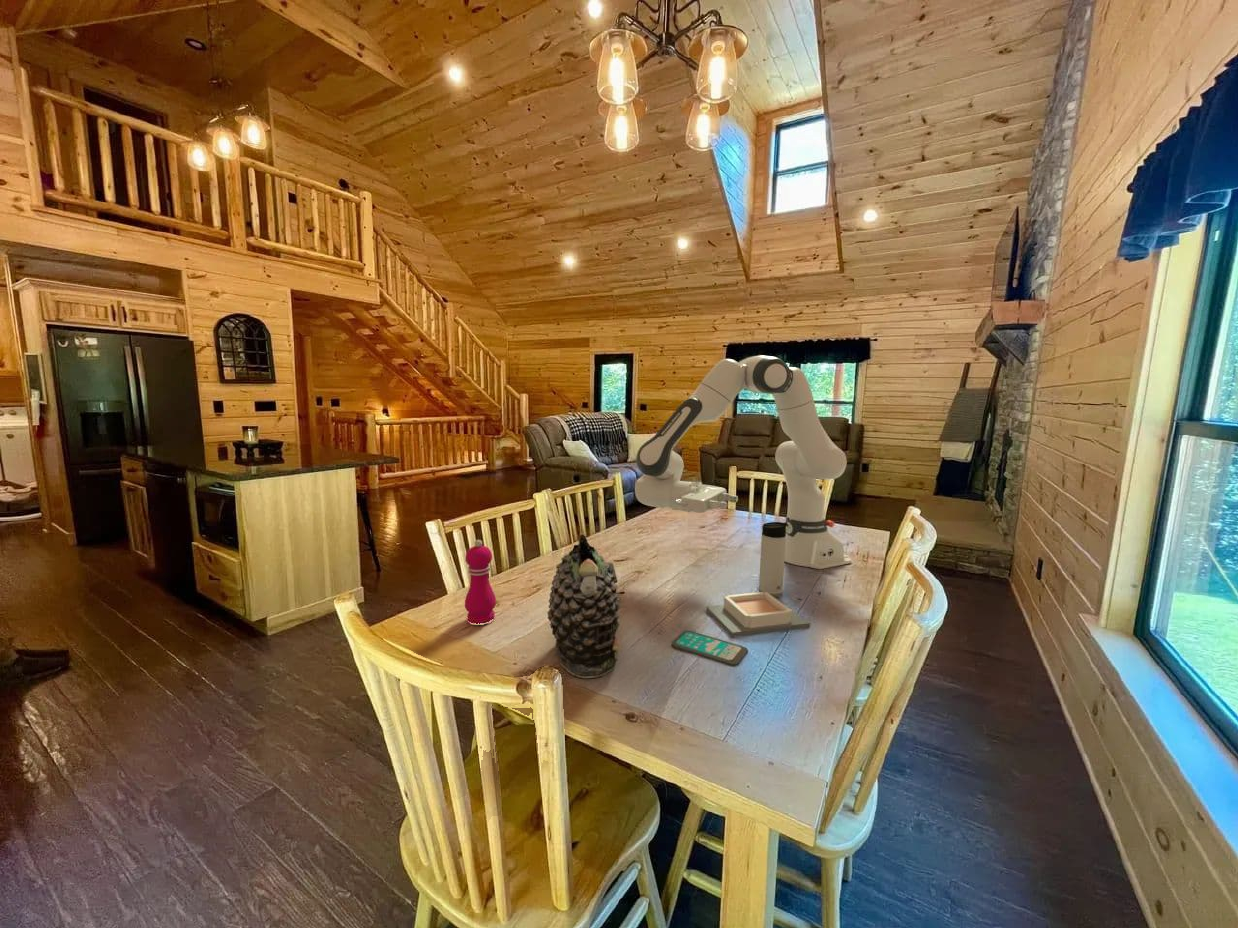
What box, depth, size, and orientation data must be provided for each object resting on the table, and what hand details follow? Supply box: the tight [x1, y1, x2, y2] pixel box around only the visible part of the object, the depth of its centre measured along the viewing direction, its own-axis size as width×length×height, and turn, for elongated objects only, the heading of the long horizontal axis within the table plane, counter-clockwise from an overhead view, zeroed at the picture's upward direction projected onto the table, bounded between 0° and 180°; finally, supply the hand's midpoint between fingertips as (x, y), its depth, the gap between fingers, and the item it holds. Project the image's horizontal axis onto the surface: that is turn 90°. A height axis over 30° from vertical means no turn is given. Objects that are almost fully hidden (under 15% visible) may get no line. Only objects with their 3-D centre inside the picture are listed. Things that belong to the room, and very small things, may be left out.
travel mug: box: [758, 521, 788, 599], centre depth 135 cm, size 6×7×20 cm
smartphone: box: [671, 630, 749, 667], centre depth 107 cm, size 9×1×15 cm
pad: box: [735, 599, 778, 615], centre depth 120 cm, size 9×9×2 cm
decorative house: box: [547, 534, 622, 679], centre depth 101 cm, size 21×15×25 cm
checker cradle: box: [705, 591, 811, 639], centre depth 120 cm, size 20×14×4 cm
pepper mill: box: [464, 539, 497, 624], centre depth 117 cm, size 7×7×20 cm
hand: (732, 502), depth 138 cm, fingers open, 8 cm apart
